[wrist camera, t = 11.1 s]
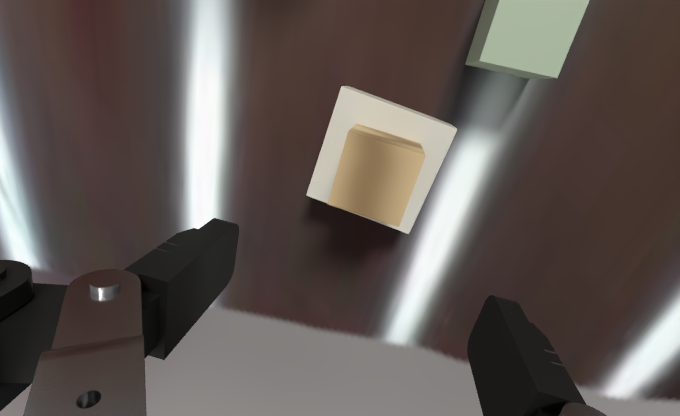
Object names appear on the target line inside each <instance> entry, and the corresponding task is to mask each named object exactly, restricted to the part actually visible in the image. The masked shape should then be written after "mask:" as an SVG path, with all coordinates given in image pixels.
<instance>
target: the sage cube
mask: <svg viewBox="0 0 680 416" xmlns="http://www.w3.org/2000/svg"><path fill="white" fill-rule="evenodd" d="M588 3H589V0H485V3H484V7H483V10H482V13H481V16H480V19H479V22H478V25H477V29H476V32H475V35H474V38H473V41H472V44H471V47H470V50H469V54H468V57H467V60H466V63H465V65H469V66H473V67H478V68H482V69H487V70H491V71H496V72H500V73H505V74H509V75H513V76H518V77H522V78H527V79H546V78H557V77H558V75H559V73H560V70H561V68H562V65H563V63H564V61H565V58H566V56H567V53H568V51H569V48H570V46H571V44H572V41H573V39H574V36H575V34H576V32H577V29H578V27H579V24H580V22H581V19H582V17H583V15H584V12H585V10H586V7H587V5H588Z"/></svg>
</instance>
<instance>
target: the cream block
mask: <svg viewBox="0 0 680 416" xmlns="http://www.w3.org/2000/svg"><path fill="white" fill-rule="evenodd" d="M355 124H360V125H363V126H366V127H369V128H373V129H376V130H379V131H382V132H386V133H389V134H392V135H395V136H399V137H402V138H405V139H408V140H412V141H415V142H418V143H420V144H421V146H422V148H423V150H424V153H425V155H426V156H425V159H424V162H423V164H422V167H421V170H420V172H419V175H418V178H417V180H416V183H415V186H414V188H413V191H412V194H411V196H410V199H409V202H408V204H407V207H406V210H405V212H404V215H403V218H402V220H401V223H400V226H399V227H397V226H394V225H391V224H388V223H385V222H382V221H378V220H375V219H372V218H369V217H366V216H363V215H360V214H357V215H359V216H362V217H365V218H367V219H370V220H373V221H375V222H378V223H380V224H383V225H386V226H388V227H391V228H394V229H396V230H399V231H402V232H404V233H407V234H409V232H410V230H411V228H412V226H413V224H414V222H415V220H416V217H417V215H418V213H419V211H420V209H421V207H422V205H423V202H424V200H425V198H426V196H427V194H428V192H429V189H430V187H431V185H432V183H433V181H434V179H435V177H436V174H437V172H438V170H439V168H440V166H441V164H442V162H443V159H444V157H445V155H446V153H447V151H448V149H449V147H450V144H451V142H452V140H453V138H454V136H455V134H456V131H457V128H455V127H454V126H453V125H451V124H450V123H447V122H444V121H441V120H439V119H436V118H433V117H431V116H428V115H425V114H423V113H420V112H417V111H414V110H412V109H409V108H406V107H404V106H401V105H398V104H396V103H393V102H390V101H387V100H385V99H382V98H379V97H377V96H374V95H371V94H369V93H366V92H363V91H360V90H358V89H355V88H352V87H350V86H341V90H340V93H339V96H338V99H337V102H336V105H335V108H334V111H333V114H332V117H331V120H330V124H329V127H328V130H327V133H326V136H325V139H324V142H323V145H322V148H321V151H320V154H319V157H318V161H317V164H316V167H315V170H314V173H313V176H312V179H311V182H310V185H309V188H308V191H307V195H306V196H309V197H312V198H314V199H317V200H320V201H322V202H325V203H328V200H329V196H330V193H331V189H332V186H333V182H334V179H335V175H336V172H337V168H338V165H339V161H340V158H341V154H342V151H343V148H344V144H345V141H346V137H347V134H348V131H349V130H350V129H351V128H352V127H353V126H354V125H355ZM343 210H344V209H343ZM346 211H347V210H346ZM349 212H350V211H349ZM351 213H353V212H351ZM354 214H356V213H354Z"/></svg>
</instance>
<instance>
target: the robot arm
mask: <svg viewBox="0 0 680 416" xmlns="http://www.w3.org/2000/svg"><path fill="white" fill-rule="evenodd" d="M238 235H239V227H238V225H237V224H234V223H231V222H227V221H223V220H220V219H216V218H214V219H212V220H211V221H209V222H208V223H207V224H205V225H204V226H203V227H201V228H200V229H195V228H193V229H190V230H186V231H183V232H180V233H177V234H176V235H174V236H173V237H171V238H170V239H168V240H167V241H166V243H165V242H164V243H163V244H161V245H160V246H158V247H157V249H154V250H152V251H151V252H149V253H148V254H147V255H145V256H144V257H142V258H141V259H139V260H138V261H136V262H135V263H133V264H132V265H130V266H129V267H127V268H126V269H125V270H120V269H104V270H98V271H93V272H90V273H87V274H84V275H82V276H80V277H78V278H76V279H75V280H73V281H72V282H71V283H70V284H69V285H54V284H38V283H33V281H32V272H31V269H30V267H29V266H28V265H26V264H24V263H22V262H18V261H12V260H0V411H1V410H2V409H3V408H4V407H6V405H8V404H9V403H10V402H11V401H12V400H13V399H15V398H16V397H17V396H18V395H19V394H20V393H21V392H22V391H24V390H25V389H26V388H27V387H28V386H29V385H30V384H31V383H32V386H31V389H30V393H29V397H28V400H27V404H26V408H25V411H24V415H23V416H146V390H145V360H144V359H145V358H146V357H147V356H148V355H150V356H153V357H156V358H160V359H163V360H165V358H166V357H167V356H168V355H169V353H170V352H171V351H172V350H173V349H174V347H175V346H176V345H177V344H178V343H179V342H180V340H181V339H182V338H183V337H184V336H185V335H186V333H187V332H188V331H189V330H190V329H191V327H192V326H193V325H194V324H195V323H196V322H197V320H198V319H199V318H200V317H201V316H202V314H203V313H204V312H205V311H206V310H207V309H208V307H209V306H210V305H211V304H212V303H213V301H214V300H215V299H216V298H217V297H218V295H219V294H220V293H221V292H222V291H223V290H224V288H225V287H226V286H227V285H228V283H229V281H230V279H231V277H232V274H233V271H234V266H235V258H236V251H237V243H238ZM467 351H468V358H469V362H470V366H471V369H472V374H473V377H474V381H475V385H476V389H477V393H478V397H479V401H480V404H481V408H482V412H483V416H606V415H605V414H603V413H602V412H600V411H598V410H596V409H595V408H593V407H590V406H588V405H586V403H585V401H584V400H583V398H582V396H581V394H580V393H579V391H578V389H577V388H576V386H575V384H574V383H573V381H572V379H571V378H570V376H569V374H568V372H567V371H566V369H565V367H563V366H562V362H561V361H560V359H559V357H558V355H557V354H555V350H554V349H553V347H552V345H551V344H550V342H549V340H548V339H547V337H546V336H545V335H544V334H543V333H542V332H541V331H540V330H539V329H538V328H537V327H536V326H535V325H534V324H533V323H529V321H528V319H527V318H526V316H525V314H524V312H523V310H522V309H521V307H520V305H519V304H518V303H517V302H515V301H511V300H507V299H504V298H500V297H497V296H493V295H491V296H489V297H488V298H487V299H486V301H485V303H484V305H483V308H482V310H481V312H480V314H479V316H478V319H477V321H476V323H475V325H474V327H473V330H472V332H471V334H470V337H469V341H468V349H467Z"/></svg>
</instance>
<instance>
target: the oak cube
mask: <svg viewBox="0 0 680 416" xmlns="http://www.w3.org/2000/svg"><path fill="white" fill-rule="evenodd" d="M425 156H426V155H425V153H424V150H423V148H422V146H421V144H420V143H418V142H415V141H412V140H408V139H405V138H402V137H399V136H395V135H392V134H389V133H386V132H382V131H379V130H376V129H373V128H369V127H366V126H363V125H360V124H355V125H354V126H353V127H352V128H351V129H350V130H349V131H348V134H347V137H346V141H345V144H344V148H343V151H342V154H341V158H340V161H339V165H338V168H337V172H336V175H335V179H334V182H333V186H332V189H331V193H330V196H329V200H328V203H327V204H328V205H331V206H335V207H338V208H341V209H344V210H347V211H350V212H353V213H356V214H360V215H363V216H366V217H369V218H372V219H375V220H378V221H382V222H385V223H388V224H391V225H394V226H397V227H399V226H400V223H401V220H402V218H403V215H404V212H405V210H406V207H407V204H408V202H409V199H410V196H411V194H412V191H413V188H414V186H415V183H416V180H417V178H418V175H419V172H420V170H421V167H422V164H423V162H424V159H425Z"/></svg>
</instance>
